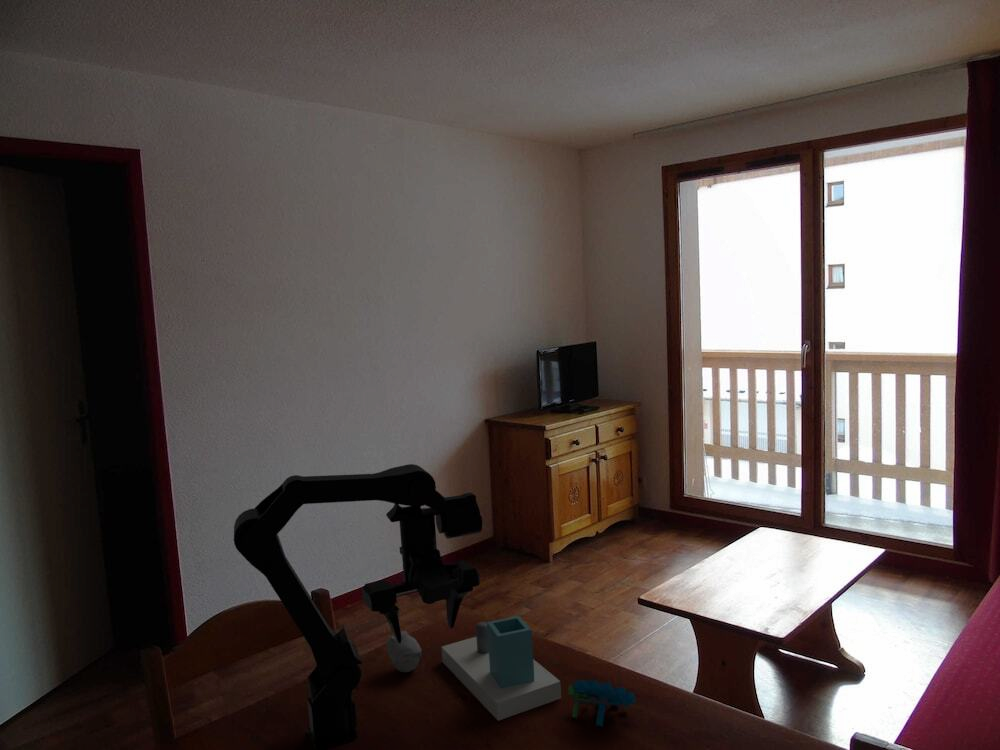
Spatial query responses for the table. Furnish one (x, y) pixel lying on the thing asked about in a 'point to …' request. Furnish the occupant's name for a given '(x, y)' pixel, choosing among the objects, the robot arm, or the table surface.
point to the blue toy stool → (598, 697)
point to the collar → (510, 651)
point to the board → (475, 674)
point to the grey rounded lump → (404, 652)
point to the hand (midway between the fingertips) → (425, 634)
